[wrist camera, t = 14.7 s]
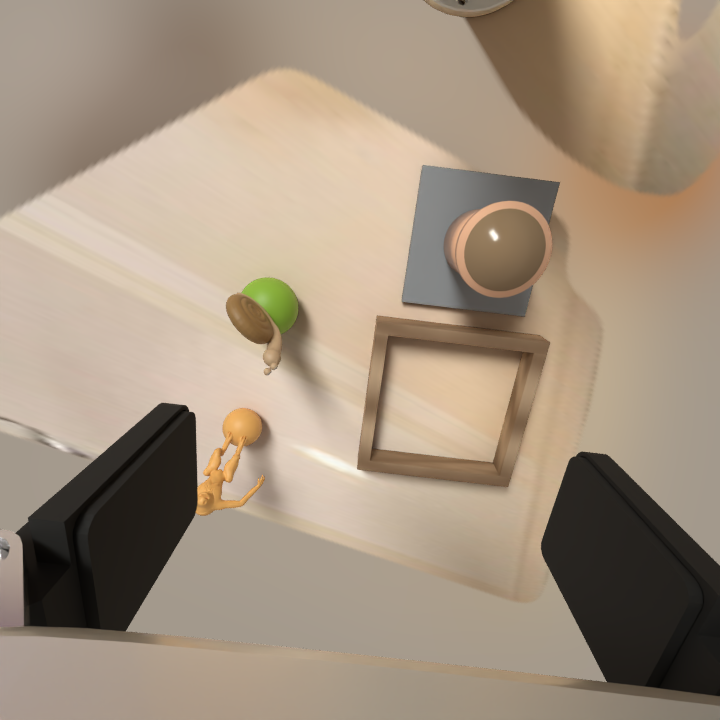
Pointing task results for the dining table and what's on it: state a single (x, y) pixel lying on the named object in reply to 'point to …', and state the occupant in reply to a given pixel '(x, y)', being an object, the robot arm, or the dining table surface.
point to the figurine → (240, 432)
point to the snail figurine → (264, 315)
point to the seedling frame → (514, 419)
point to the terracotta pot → (499, 248)
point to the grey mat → (437, 212)
